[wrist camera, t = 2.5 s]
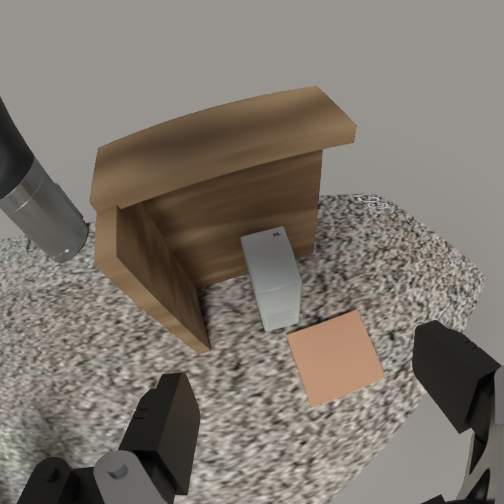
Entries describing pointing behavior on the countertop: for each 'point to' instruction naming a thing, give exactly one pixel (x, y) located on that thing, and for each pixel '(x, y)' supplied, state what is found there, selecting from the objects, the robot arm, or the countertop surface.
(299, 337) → the terracotta tile
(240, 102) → the walnut cubby
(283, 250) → the skincare box
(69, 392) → the countertop surface
